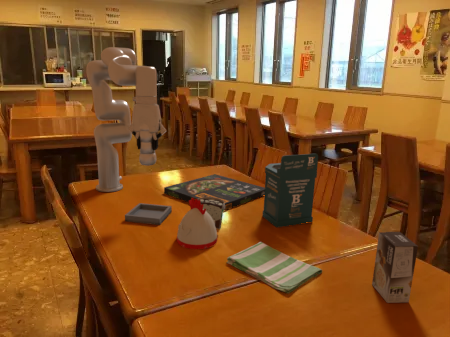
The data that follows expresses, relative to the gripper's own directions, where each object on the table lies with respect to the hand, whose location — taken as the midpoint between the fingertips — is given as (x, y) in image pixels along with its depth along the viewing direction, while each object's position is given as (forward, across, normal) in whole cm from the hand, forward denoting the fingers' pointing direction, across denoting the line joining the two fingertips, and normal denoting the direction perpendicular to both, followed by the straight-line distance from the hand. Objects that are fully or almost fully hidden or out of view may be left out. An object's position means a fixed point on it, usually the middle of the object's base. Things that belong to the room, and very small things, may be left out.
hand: (147, 148), depth 142 cm
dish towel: (+28, +51, -29) cm, 65 cm away
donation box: (+28, +53, +13) cm, 61 cm away
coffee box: (+28, +83, -35) cm, 94 cm away
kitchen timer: (+28, +24, -16) cm, 40 cm away
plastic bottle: (+7, 0, 0) cm, 7 cm away
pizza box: (+28, +20, +35) cm, 49 cm away
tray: (+28, 0, 0) cm, 28 cm away
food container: (+28, +26, -1) cm, 38 cm away
